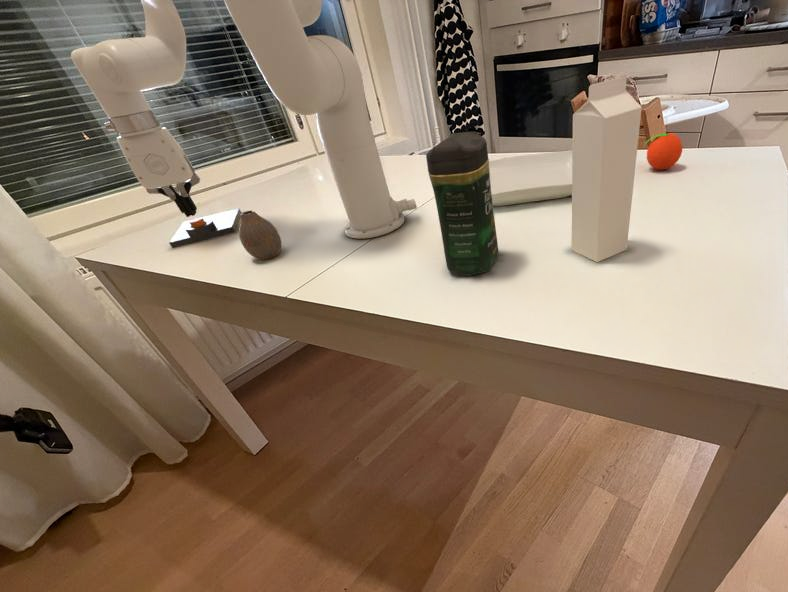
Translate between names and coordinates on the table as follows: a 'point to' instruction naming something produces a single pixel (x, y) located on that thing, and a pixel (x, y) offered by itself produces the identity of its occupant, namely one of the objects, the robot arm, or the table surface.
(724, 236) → the table surface
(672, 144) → the tomato
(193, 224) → the orange angular block
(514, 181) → the square plate
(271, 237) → the vase
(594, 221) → the milk
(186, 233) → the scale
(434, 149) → the coffee jar
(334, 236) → the table surface
